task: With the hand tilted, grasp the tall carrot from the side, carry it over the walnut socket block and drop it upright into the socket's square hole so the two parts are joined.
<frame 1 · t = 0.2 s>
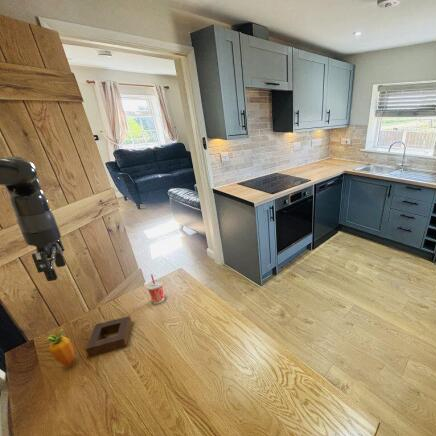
hand: (57, 272, 76), 30 cm above the table, tool pointing down, fingers open, 8 cm apart
carrot: (71, 366, 79), on the table
socket block: (112, 338, 88), on the table
beverage cup: (158, 300, 106), on the table
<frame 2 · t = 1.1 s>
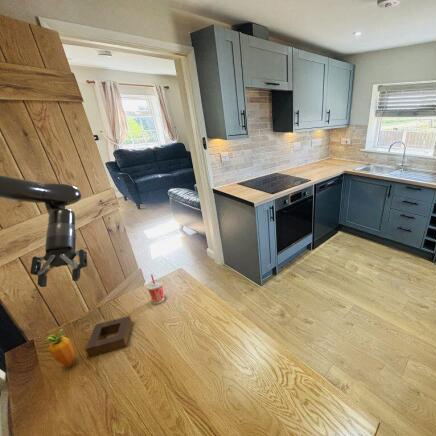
hand: (59, 283, 79), 25 cm above the table, tool tilted 45°, fingers open, 8 cm apart
nothing on the table moved.
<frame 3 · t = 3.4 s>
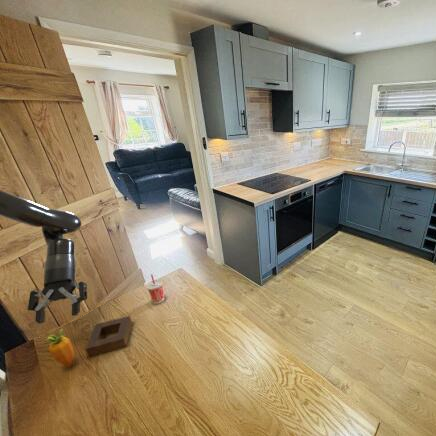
hand: (58, 319, 76), 16 cm above the table, tool tilted 45°, fingers open, 8 cm apart
nothing on the table moved.
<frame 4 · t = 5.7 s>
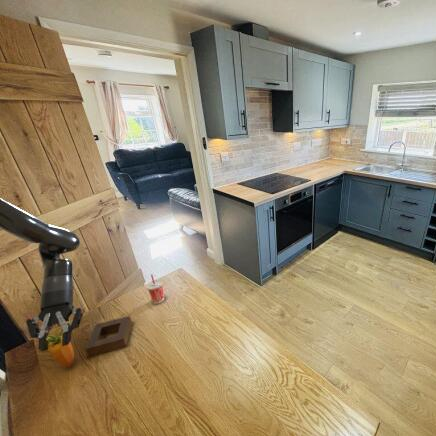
hand: (55, 347, 72), 11 cm above the table, tool tilted 45°, fingers closed on carrot, 4 cm apart
carrot: (71, 366, 79), on the table, touching gripper
everything else where it was.
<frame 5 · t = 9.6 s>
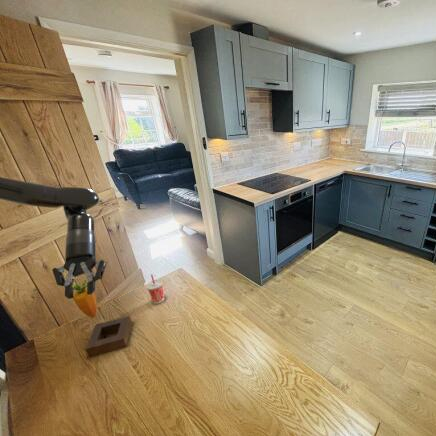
hand: (80, 295, 75), 24 cm above the table, tool tilted 45°, fingers closed on carrot, 4 cm apart
carrot: (94, 317, 81), point 13 cm above the table, touching gripper
everything else where it was.
when the fingers open (12 cm above the table, at t = 13.5 s): carrot drops 1 cm, resting in socket block.
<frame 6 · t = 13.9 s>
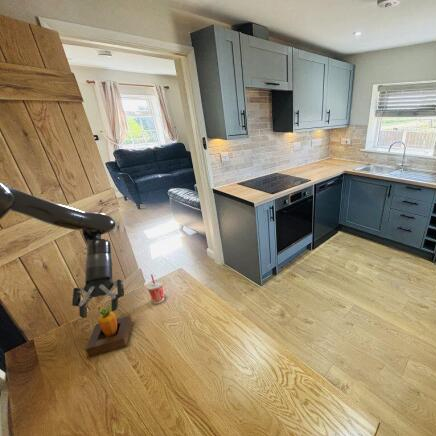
hand: (99, 314, 81), 14 cm above the table, tool tilted 45°, fingers open, 8 cm apart
carrot: (113, 338, 88), resting in socket block
everything else where it was.
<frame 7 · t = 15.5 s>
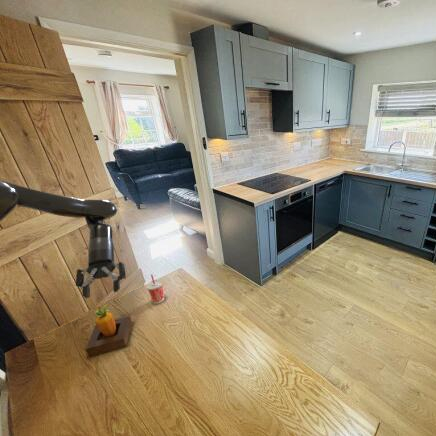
hand: (101, 294, 85), 17 cm above the table, tool tilted 45°, fingers open, 8 cm apart
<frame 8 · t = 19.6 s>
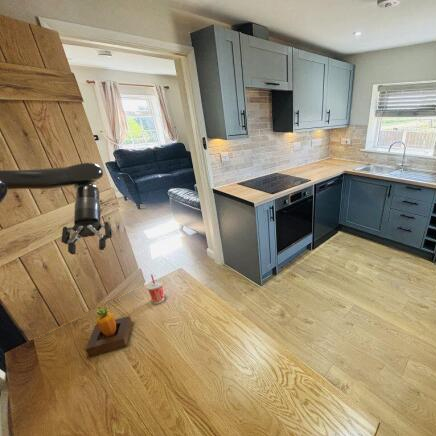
hand: (87, 251, 86), 31 cm above the table, tool tilted 45°, fingers open, 8 cm apart
nothing on the table moved.
at the end: carrot 0.2 cm off-centre in the socket block, point 0.0 cm above the socket block's base; carrot tilted 0°; the gripper is holding nothing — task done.
